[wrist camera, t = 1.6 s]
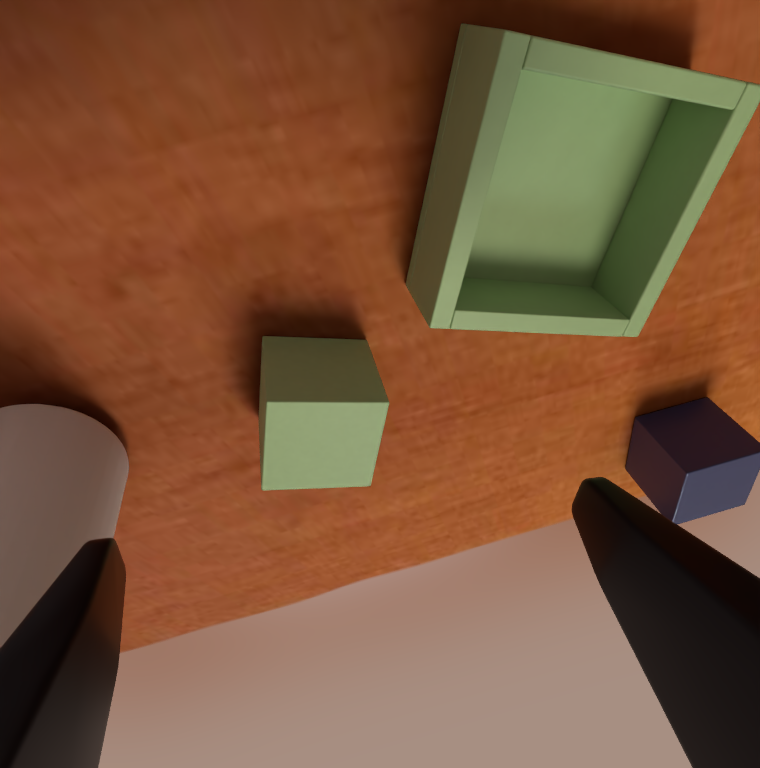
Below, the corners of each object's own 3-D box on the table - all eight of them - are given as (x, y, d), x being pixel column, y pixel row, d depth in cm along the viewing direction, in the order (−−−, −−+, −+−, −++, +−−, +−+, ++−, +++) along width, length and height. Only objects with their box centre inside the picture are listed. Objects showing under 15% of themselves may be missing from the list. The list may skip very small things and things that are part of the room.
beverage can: (91, 376, 21) (-29, 681, 12) (155, 479, 25) (104, 770, 16) (-72, 414, 21) (-331, 764, 11) (20, 513, 25) (-116, 834, 15)
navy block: (707, 396, 30) (769, 450, 27) (691, 449, 33) (745, 504, 29) (634, 416, 30) (687, 473, 26) (624, 469, 33) (671, 526, 29)
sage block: (367, 339, 23) (389, 402, 19) (352, 418, 25) (370, 486, 22) (262, 335, 22) (266, 402, 18) (258, 418, 24) (261, 491, 21)
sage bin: (691, 72, 19) (769, 86, 16) (592, 297, 24) (638, 338, 21) (460, 22, 17) (505, 29, 14) (404, 284, 22) (429, 328, 19)
